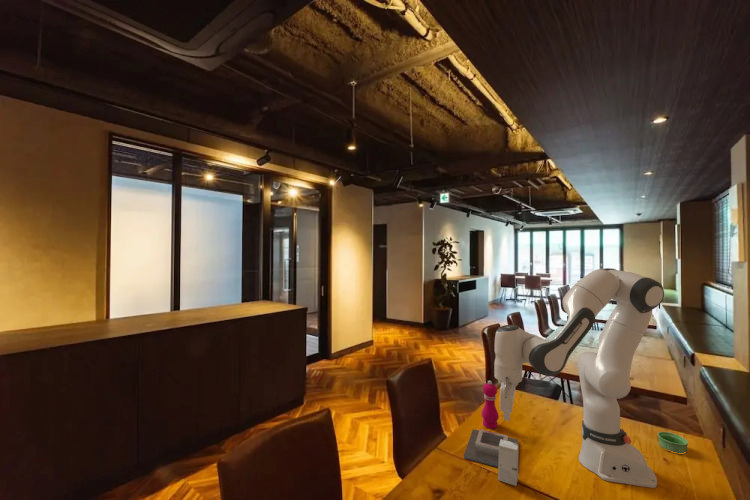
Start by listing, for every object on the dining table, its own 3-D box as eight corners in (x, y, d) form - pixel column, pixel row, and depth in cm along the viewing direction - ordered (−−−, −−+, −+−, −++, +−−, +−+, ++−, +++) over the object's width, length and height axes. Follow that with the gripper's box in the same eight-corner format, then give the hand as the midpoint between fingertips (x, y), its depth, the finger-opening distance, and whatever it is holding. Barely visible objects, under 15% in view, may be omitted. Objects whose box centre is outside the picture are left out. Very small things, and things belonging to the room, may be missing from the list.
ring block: (518, 442, 134) (518, 432, 134) (515, 472, 116) (515, 460, 116) (472, 431, 142) (472, 422, 142) (463, 458, 124) (463, 447, 124)
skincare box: (497, 480, 112) (497, 445, 112) (499, 472, 116) (499, 438, 116) (517, 486, 109) (517, 450, 109) (518, 478, 113) (518, 443, 113)
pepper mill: (496, 421, 150) (496, 377, 150) (500, 429, 143) (500, 384, 143) (480, 420, 151) (479, 377, 151) (483, 429, 144) (483, 383, 144)
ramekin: (695, 455, 125) (695, 444, 125) (671, 456, 125) (671, 444, 125) (673, 442, 134) (673, 431, 134) (651, 442, 134) (651, 431, 134)
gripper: (516, 386, 102) (516, 430, 102) (519, 365, 120) (519, 403, 120) (494, 382, 104) (494, 425, 104) (500, 362, 123) (500, 399, 123)
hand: (507, 413), depth 112 cm, fingers open, 8 cm apart
